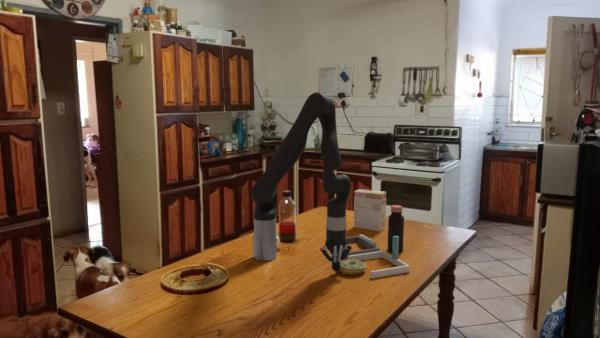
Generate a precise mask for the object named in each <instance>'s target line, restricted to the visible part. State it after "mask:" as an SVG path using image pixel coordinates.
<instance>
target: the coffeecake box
mask: <svg viewBox="0 0 600 338" xmlns="http://www.w3.org/2000/svg"><path fill="white" fill-rule="evenodd" d="M353 196H354V199H353V228H357V229H362V230H368V231H374V232H378V233H379V232H382V231H384V230H385V229H386V217H387V191H383V190H373V189H372V190H371V189H363V188H359V189H356V190H354V194H353Z"/></svg>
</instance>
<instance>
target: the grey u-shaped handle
mask: <svg viewBox="0 0 600 338" xmlns="http://www.w3.org/2000/svg"><path fill="white" fill-rule="evenodd" d="M346 242H347V244H351V243H352V244H353V243H358V244H360V245H361V246H363V247H365V248H366V249H359V250H354V251H350V252H349V253H348V255H347V256H346V258H345V259H344V260H347V259H348V256H350V255H357V254H364V253H370V252H377V251H381V250H380V249H381V248H380V247H378V246H376V245H377V242H376V241H375V240H373V239H371V238H370V237H368V236H366V235H364V234H361V233H360V234H359V235H355V236H348V237H347V236H346ZM325 243H326V239H325V240H324V244H325Z"/></svg>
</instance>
